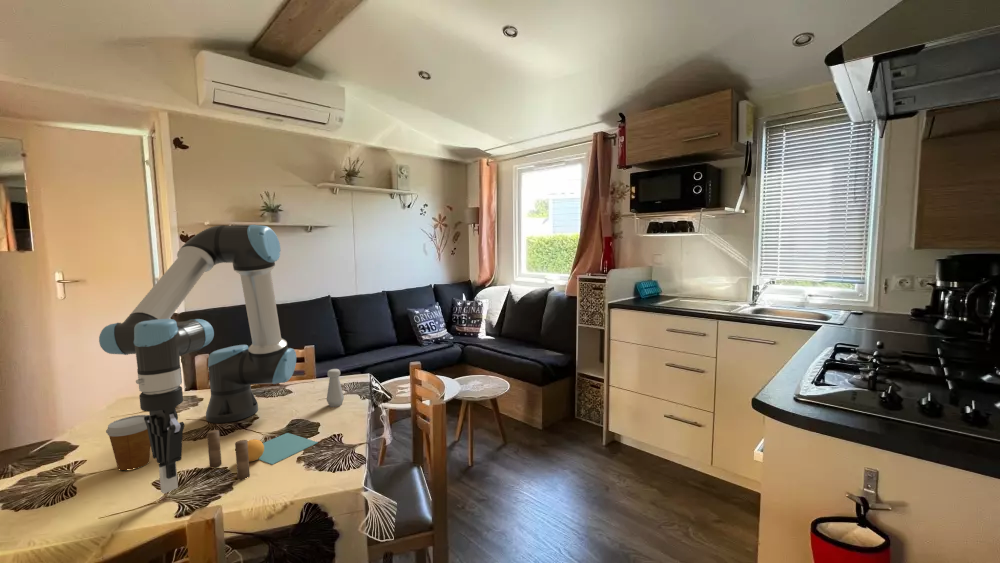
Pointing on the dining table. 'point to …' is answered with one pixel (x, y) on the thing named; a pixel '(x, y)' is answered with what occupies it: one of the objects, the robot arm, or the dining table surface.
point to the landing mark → (284, 447)
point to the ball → (255, 449)
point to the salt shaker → (334, 389)
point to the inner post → (214, 448)
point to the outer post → (242, 459)
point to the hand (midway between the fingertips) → (169, 489)
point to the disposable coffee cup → (130, 442)
